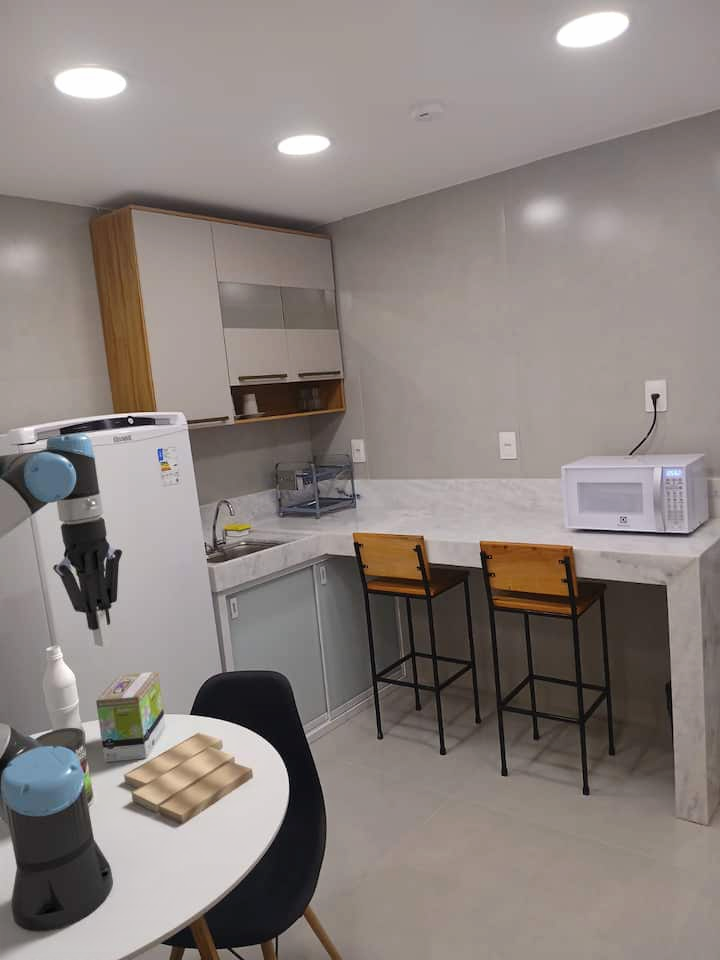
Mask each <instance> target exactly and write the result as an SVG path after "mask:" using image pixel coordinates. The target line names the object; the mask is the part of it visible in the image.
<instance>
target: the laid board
mask: <svg viewBox="0 0 720 960" xmlns="http://www.w3.org/2000/svg"><path fill="white" fill-rule="evenodd" d="M253 778H254V774H253V769H252V768H251V767H247V766H245V765H242V764H238V763H236V762H235V763H233V762H230V761H228V762H226V763H224V764H223V765H221V766H220V767H218V768H216V769H215V770H213V771H212V772H210V773H208V774H207V775H205V776H204V777H202V778H200V779H199V780H197V781H196V782H194V783H192V784H191V785H189V786H188V787H186V788H185V789H183V790H181V791H180V792H178V793H177V794H175V795H173V796H172V797H170V798H169V799H167V800H165V801H164V802H162V803H161V804H159V805H158V808H159V813H158V814H159V815H160V816H162V817H165V818H167V819H170V820H173V821H174V822H177V823H178V824H182V825H184V824H185V823H187V822H189V821H190V820H192V819H193V818H194V817H196V816H198V815H199V814H200V813H202V812H204V811H205V810H206V809H207V808H210V807H211V806H212V805H214V804H216V802H218V801H220V800H221V799H222V798H224V797H226V796H227V795H228V794H230V793H231V792H233V791H234V790H236V789H238V788H239V787H240V786H242V785H243V784H245V783H247V782H248V781H249V780H251V779H253Z"/></svg>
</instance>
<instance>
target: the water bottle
mask: <svg viewBox="0 0 720 960" xmlns="http://www.w3.org/2000/svg"><path fill="white" fill-rule="evenodd" d="M61 650H62V649H61V646H60V645H52V646H50V647H47V648H46V649H45V651H46V661H47V667H46V670H45V672H44V675H43V679H42V683H41V684H42V686H41V687H42V689H43V694H44V699H45V707H46V710H47V713H48V715H49V718H50V722H51V727H52V729H51V730H52V731H55V730H59V729H64V728H78V729H81V730H82V731H83V735H84V737H83V739H84V744H86V741H87V740H86V739H87V737H86V731H85V729H84V727H83V724H82V721H81V716H80V710H79V709H80V708H79V703H80V699H79V694H78V693H79V692H78V689H77V683H76V679H77V678H76V676H75V674H74V672H73V671H72V669H71V668H69V666H68V665H67V664H66V663H65V662H64V659H63V657H64V655H63V653H62V651H61Z"/></svg>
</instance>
